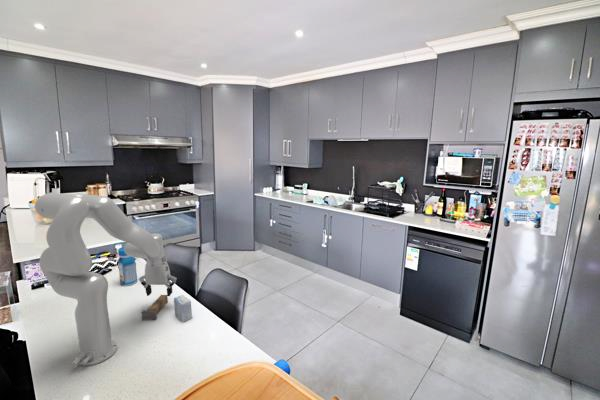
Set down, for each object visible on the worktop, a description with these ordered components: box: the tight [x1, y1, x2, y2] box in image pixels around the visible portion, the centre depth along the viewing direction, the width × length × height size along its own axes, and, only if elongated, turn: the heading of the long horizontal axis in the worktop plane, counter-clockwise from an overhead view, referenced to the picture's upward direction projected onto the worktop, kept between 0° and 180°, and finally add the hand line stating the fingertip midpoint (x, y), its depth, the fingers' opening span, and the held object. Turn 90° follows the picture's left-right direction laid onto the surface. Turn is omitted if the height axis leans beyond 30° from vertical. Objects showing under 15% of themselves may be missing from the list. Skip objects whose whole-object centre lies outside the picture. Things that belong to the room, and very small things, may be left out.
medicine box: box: [173, 294, 193, 323], centre depth 129 cm, size 8×4×9 cm, turn 47°
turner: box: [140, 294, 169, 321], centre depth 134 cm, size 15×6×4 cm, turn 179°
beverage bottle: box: [117, 246, 138, 287], centre depth 158 cm, size 8×8×20 cm
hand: (159, 294), depth 135 cm, fingers open, 9 cm apart
